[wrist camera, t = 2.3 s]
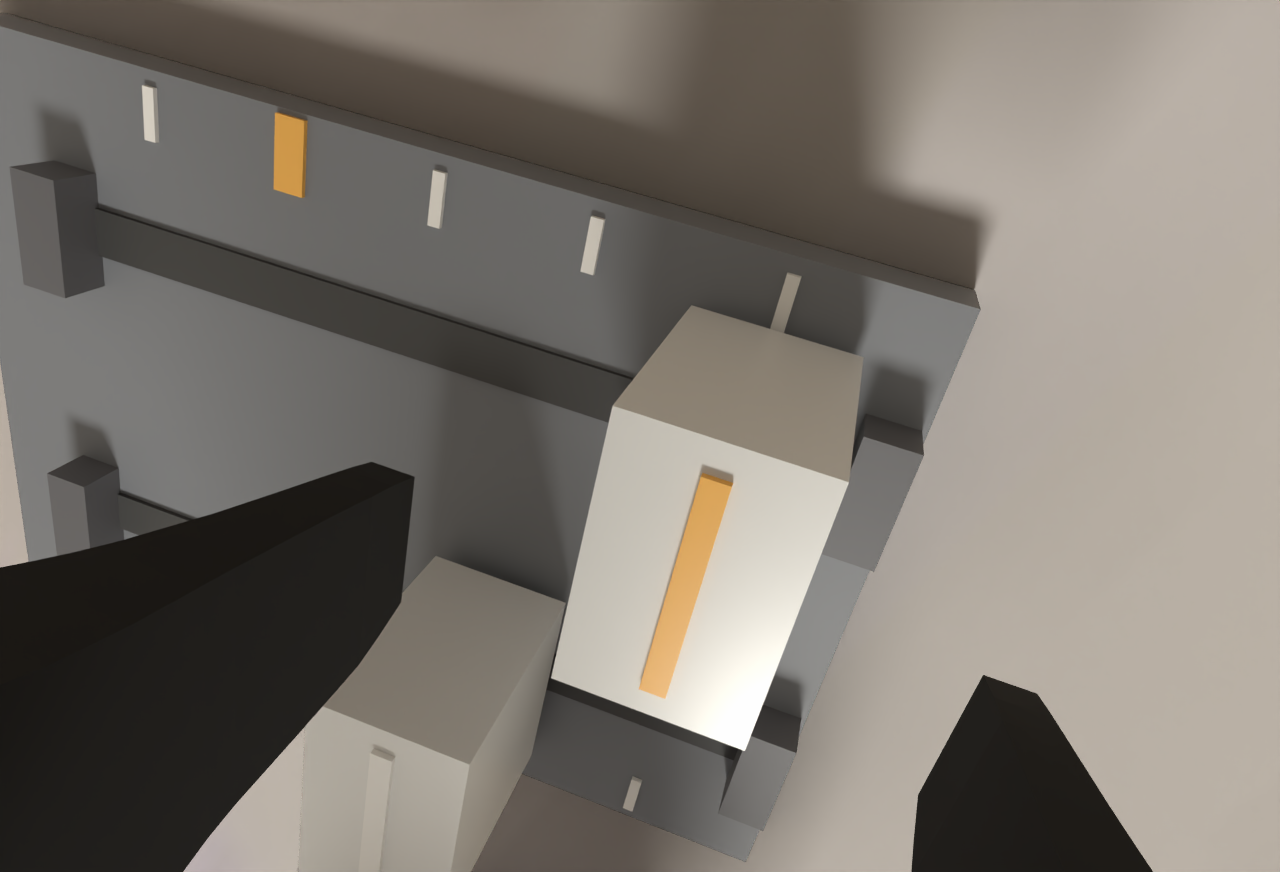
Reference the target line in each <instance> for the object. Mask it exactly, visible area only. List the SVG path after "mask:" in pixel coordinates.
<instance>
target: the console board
mask: <svg viewBox="0 0 1280 872" xmlns="http://www.w3.org/2000/svg"><path fill="white" fill-rule="evenodd" d="M691 305H693V306H696V307H699V308H702V309H706V310H709V311H712V312H716V313H719V314H722V315H726V316H729V317H732V318H736V319H739V320H742V321H745V322H749V323H752V324H755V325H759V326H762V327H765V328H769V329H772V330H775V331H778V332H782V333H785V334H788V335H792V336H795V337H798V338H802V339H805V340H808V341H812V342H815V343H818V344H821V345H825V346H828V347H831V348H835V349H838V350H841V351H845V352H848V353H851V354H855V355H858V356H861V357H864V358H863V367H862V375H861V384H860V392H859V401H858V410H857V418H856V427H855V435H854V444H853V453H852V461H851V470H850V479H849V484H848V486H847V489H846V492H845V494H844V497H843V499H842V502H841V504H840V507H839V510H838V512H837V515H836V517H835V520H834V522H833V525H832V528H831V530H830V533H829V535H828V538H827V540H826V543H825V546H824V548H823V551H822V553H821V556H820V559H819V561H818V564H817V566H816V569H815V571H814V574H813V577H812V579H811V582H810V584H809V587H808V589H807V592H806V595H805V597H804V600H803V602H802V605H801V607H800V610H799V613H798V615H797V618H796V620H795V623H794V626H793V628H792V631H791V633H790V636H789V638H788V641H787V644H786V646H785V649H784V651H783V654H782V656H781V659H780V662H779V664H778V667H777V669H776V672H775V675H774V677H773V680H772V682H771V685H770V687H769V690H768V693H767V695H766V698H765V700H764V703H763V705H762V708H761V711H760V713H759V716H758V718H757V721H756V723H755V726H754V729H753V731H752V734H751V736H750V739H749V742H748V744H747V747H746V749H745V751H744V750H741V749H738V748H736V747H733V746H730V745H728V744H725V743H722V742H720V741H717V740H714V739H712V738H709V737H706V736H704V735H701V734H698V733H696V732H693V731H690V730H688V729H685V728H682V727H680V726H677V725H674V724H672V723H669V722H666V721H664V720H661V719H658V718H656V717H653V716H651V715H648V714H645V713H643V712H640V711H637V710H635V709H632V708H629V707H627V706H624V705H621V704H619V703H616V702H613V701H611V700H608V699H605V698H603V697H600V696H597V695H595V694H592V693H589V692H587V691H584V690H581V689H579V688H576V687H573V686H571V685H568V684H565V683H563V682H560V681H557V680H555V679H552V678H551V676H552V671H553V667H554V663H555V658H556V654H557V649H558V645H559V640H560V636H561V632H562V627H563V623H564V618H565V614H566V610H567V605H568V601H569V596H570V592H571V587H572V583H573V579H574V574H575V570H576V565H577V561H578V557H579V552H580V548H581V543H582V539H583V534H584V530H585V526H586V521H587V517H588V512H589V508H590V503H591V499H592V495H593V490H594V486H595V481H596V477H597V473H598V468H599V464H600V459H601V455H602V450H603V446H604V442H605V437H606V433H607V428H608V424H609V419H610V415H611V411H612V406H613V405H614V403H615V402H616V401H617V399H618V398H619V397H620V396H621V394H622V393H623V392H624V391H625V389H626V388H627V387H628V385H629V384H630V383H631V382H632V380H633V379H634V378H635V377H636V375H637V374H638V373H639V371H640V370H641V369H642V368H643V366H644V365H645V364H646V363H647V361H648V360H649V359H650V357H651V356H652V355H653V354H654V352H655V351H656V350H657V348H658V347H659V346H660V345H661V343H662V342H663V341H664V340H665V338H666V337H667V336H668V334H669V333H670V332H671V331H672V329H673V328H674V327H675V326H676V324H677V323H678V322H679V320H680V319H681V318H682V317H683V315H684V314H685V313H686V312H687V310H688V309H689V308H690V306H691ZM980 310H981V309H980V306H979V302H978V299H977V295H976V292H975V290H972V289H969V288H965V287H962V286H958V285H955V284H951V283H948V282H944V281H941V280H937V279H934V278H930V277H927V276H923V275H920V274H916V273H913V272H909V271H906V270H902V269H899V268H895V267H892V266H888V265H885V264H881V263H878V262H874V261H871V260H867V259H864V258H860V257H857V256H853V255H850V254H846V253H843V252H839V251H836V250H832V249H829V248H825V247H822V246H818V245H815V244H811V243H808V242H804V241H801V240H797V239H794V238H790V237H787V236H783V235H780V234H776V233H773V232H769V231H766V230H762V229H759V228H755V227H752V226H748V225H745V224H741V223H738V222H734V221H731V220H727V219H724V218H720V217H717V216H713V215H710V214H706V213H703V212H699V211H696V210H692V209H689V208H686V207H682V206H679V205H675V204H672V203H668V202H665V201H661V200H658V199H654V198H651V197H647V196H644V195H640V194H637V193H633V192H630V191H626V190H623V189H619V188H616V187H612V186H609V185H605V184H602V183H598V182H595V181H591V180H588V179H584V178H581V177H577V176H574V175H570V174H567V173H563V172H560V171H556V170H553V169H549V168H546V167H542V166H539V165H535V164H532V163H528V162H525V161H521V160H518V159H514V158H511V157H507V156H504V155H500V154H497V153H493V152H490V151H486V150H483V149H479V148H476V147H472V146H469V145H465V144H462V143H458V142H455V141H451V140H448V139H444V138H441V137H437V136H434V135H430V134H427V133H423V132H420V131H416V130H413V129H409V128H406V127H402V126H399V125H395V124H392V123H388V122H385V121H381V120H378V119H374V118H371V117H367V116H364V115H360V114H357V113H353V112H350V111H346V110H343V109H339V108H336V107H332V106H329V105H325V104H322V103H318V102H315V101H311V100H308V99H304V98H301V97H297V96H294V95H290V94H287V93H283V92H280V91H276V90H273V89H269V88H266V87H262V86H259V85H255V84H252V83H248V82H245V81H241V80H238V79H234V78H231V77H227V76H224V75H220V74H217V73H213V72H210V71H206V70H203V69H199V68H196V67H192V66H189V65H185V64H182V63H178V62H175V61H171V60H168V59H164V58H161V57H157V56H154V55H150V54H147V53H143V52H140V51H136V50H133V49H129V48H126V47H122V46H119V45H115V44H112V43H108V42H105V41H101V40H98V39H94V38H91V37H87V36H84V35H80V34H77V33H73V32H70V31H66V30H63V29H59V28H56V27H52V26H49V25H45V24H42V23H38V22H35V21H31V20H28V19H24V18H21V17H17V16H14V15H10V14H6V13H0V363H1V370H2V377H3V384H4V391H5V398H6V405H7V412H8V419H9V426H10V433H11V440H12V447H13V455H14V462H15V469H16V476H17V483H18V490H19V497H20V504H21V511H22V518H23V525H24V532H25V539H26V546H27V553H28V560H29V562H31V561H35V560H40V559H44V558H49V557H54V556H58V555H63V554H68V553H72V552H77V551H81V550H85V549H89V548H93V547H97V546H101V545H105V544H109V543H113V542H117V541H121V540H125V539H128V538H132V537H135V536H138V535H142V534H145V533H149V532H152V531H155V530H159V529H162V528H166V527H169V526H172V525H176V524H179V523H183V522H186V521H190V520H193V519H196V518H200V517H203V516H207V515H210V514H213V513H216V512H220V511H223V510H226V509H229V508H232V507H235V506H238V505H241V504H244V503H247V502H250V501H253V500H256V499H259V498H262V497H265V496H268V495H271V494H274V493H277V492H280V491H283V490H285V489H288V488H291V487H294V486H297V485H300V484H303V483H306V482H309V481H312V480H315V479H318V478H320V477H323V476H326V475H329V474H332V473H335V472H339V471H342V470H345V469H348V468H351V467H354V466H358V465H362V464H365V463H369V462H374V463H377V464H380V465H383V466H386V467H388V468H391V469H394V470H397V471H400V472H403V473H406V474H409V475H411V476H414V477H415V480H414V489H413V498H412V508H411V517H410V526H409V535H408V544H407V554H406V563H405V572H404V581H403V591H402V593H403V592H404V591H405V589H406V588H407V587H408V586H409V585H410V584H411V583H412V582H413V581H414V579H415V578H416V577H417V576H418V575H419V574H420V573H421V572H422V571H423V569H424V568H425V567H426V566H427V565H428V564H429V563H430V562H431V561H432V559H433V558H434V557H435V556H437V557H440V558H443V559H446V560H449V561H451V562H454V563H457V564H460V565H462V566H465V567H468V568H471V569H473V570H476V571H479V572H482V573H484V574H487V575H490V576H493V577H496V578H498V579H501V580H504V581H507V582H509V583H512V584H515V585H518V586H520V587H523V588H526V589H529V590H531V591H534V592H537V593H540V594H542V595H545V596H548V597H551V598H554V599H556V600H559V601H562V602H565V603H566V604H565V608H564V613H563V617H562V622H561V626H560V631H559V635H558V639H557V644H556V648H555V653H554V657H553V662H552V666H551V671H550V675H549V679H548V684H547V688H546V693H545V697H544V702H543V706H542V711H541V715H540V720H539V724H538V728H537V733H536V737H535V742H534V746H533V751H532V755H531V757H530V759H529V761H528V763H527V765H526V767H525V769H524V771H523V772H522V774H524V775H526V776H529V777H532V778H534V779H537V780H539V781H542V782H544V783H547V784H549V785H552V786H554V787H557V788H559V789H562V790H564V791H567V792H569V793H572V794H575V795H577V796H580V797H582V798H585V799H587V800H590V801H592V802H595V803H597V804H600V805H602V806H605V807H607V808H610V809H612V810H615V811H618V812H620V813H623V814H625V815H628V816H630V817H633V818H635V819H638V820H640V821H643V822H645V823H648V824H650V825H653V826H656V827H658V828H661V829H663V830H666V831H668V832H671V833H673V834H676V835H678V836H681V837H683V838H686V839H688V840H691V841H693V842H696V843H699V844H701V845H704V846H706V847H709V848H711V849H714V850H716V851H719V852H721V853H724V854H726V855H729V856H731V857H734V858H736V859H739V860H742V861H744V862H746V860H747V858H748V856H749V853H750V851H751V848H752V846H753V844H754V841H755V839H756V837H757V834H758V832H759V830H761V831H763V830H764V827H765V825H766V823H767V820H768V818H769V816H770V813H771V811H772V809H773V806H774V804H775V802H776V799H777V797H778V795H779V792H780V790H781V788H782V785H783V783H784V781H785V778H786V776H787V774H788V771H789V769H790V767H791V764H792V762H793V760H794V757H795V755H796V752H797V745H798V738H799V735H800V733H801V731H802V728H803V726H804V724H805V721H806V719H807V717H808V714H809V712H810V710H811V707H812V705H813V703H814V700H815V698H816V695H817V693H818V691H819V688H820V686H821V684H822V681H823V679H824V677H825V674H826V672H827V670H828V667H829V665H830V663H831V660H832V658H833V655H834V653H835V651H836V648H837V646H838V644H839V641H840V639H841V637H842V634H843V632H844V630H845V627H846V625H847V623H848V620H849V618H850V615H851V613H852V611H853V608H854V606H855V604H856V601H857V599H858V597H859V594H860V592H861V590H862V587H863V585H864V583H865V580H866V578H867V575H868V573H869V571H873V572H874V571H875V568H876V566H877V564H878V561H879V559H880V556H881V554H882V552H883V549H884V547H885V545H886V542H887V540H888V538H889V535H890V533H891V531H892V528H893V526H894V524H895V521H896V519H897V517H898V514H899V512H900V510H901V507H902V505H903V503H904V500H905V498H906V496H907V493H908V491H909V489H910V486H911V484H912V482H913V479H914V477H915V475H916V472H917V470H918V468H919V465H920V463H921V461H922V458H923V456H924V451H923V444H924V441H925V439H926V437H927V434H928V432H929V430H930V427H931V425H932V422H933V420H934V418H935V415H936V413H937V411H938V408H939V406H940V404H941V401H942V399H943V397H944V394H945V392H946V390H947V387H948V385H949V382H950V380H951V378H952V375H953V373H954V371H955V368H956V366H957V364H958V361H959V359H960V357H961V354H962V352H963V350H964V347H965V345H966V342H967V340H968V338H969V335H970V333H971V331H972V328H973V326H974V324H975V321H976V319H977V317H978V314H979V312H980Z"/></svg>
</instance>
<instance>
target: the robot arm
mask: <svg viewBox="0 0 1280 872" xmlns="http://www.w3.org/2000/svg"><path fill="white" fill-rule="evenodd" d="M414 480H415V477H414V476H411V475H409V474H406V473H403V472H400V471H397V470H394V469H391V468H388V467H386V466H383V465H380V464H377V463H374V462H369V463H365V464H362V465H358V466H354V467H351V468H348V469H345V470H342V471H339V472H335V473H332V474H329V475H326V476H323V477H320V478H318V479H315V480H312V481H309V482H306V483H303V484H300V485H297V486H294V487H291V488H288V489H285V490H283V491H280V492H277V493H274V494H271V495H268V496H265V497H262V498H259V499H256V500H253V501H250V502H247V503H244V504H241V505H238V506H235V507H232V508H229V509H226V510H223V511H220V512H216V513H213V514H210V515H207V516H203V517H200V518H196V519H193V520H190V521H186V522H183V523H179V524H176V525H172V526H169V527H166V528H162V529H159V530H155V531H152V532H149V533H145V534H142V535H138V536H135V537H132V538H128V539H125V540H121V541H117V542H113V543H109V544H105V545H101V546H97V547H93V548H89V549H85V550H81V551H77V552H72V553H68V554H63V555H58V556H54V557H49V558H44V559H40V560H35V561H31V562H26V563H21V564H17V565H11V566H6V567H1V568H0V872H183V871H184V870H185V868H186V867H187V866H188V864H189V863H190V862H191V860H192V859H193V857H194V856H195V855H196V853H197V852H198V851H199V849H200V848H201V847H202V845H203V844H204V842H205V841H206V840H207V838H208V837H209V836H210V835H211V833H212V832H213V831H214V830H215V829H216V827H217V826H218V825H219V824H220V822H221V821H222V820H223V819H224V818H225V816H226V815H227V814H228V813H229V812H230V810H231V809H232V808H233V807H234V805H235V804H236V803H237V802H238V801H239V800H240V799H241V797H242V796H243V795H244V794H245V793H246V792H247V791H248V790H249V788H250V787H251V786H252V785H253V784H254V783H255V782H256V781H257V780H258V778H259V777H260V776H261V775H262V774H263V773H264V772H265V771H266V769H267V768H268V767H269V766H270V765H271V764H272V763H273V762H274V761H275V759H276V758H277V757H278V756H279V755H280V754H281V753H282V752H283V750H284V749H285V748H286V747H287V746H288V745H289V744H290V743H291V741H292V740H293V739H294V738H295V737H296V736H297V735H298V734H299V733H300V731H301V730H302V729H303V728H304V727H305V726H306V725H307V724H308V722H309V721H310V720H311V719H312V718H313V717H314V716H315V715H316V714H317V712H318V711H319V710H320V709H321V708H322V707H323V706H324V704H325V703H326V702H327V701H328V700H329V699H330V698H331V696H332V695H333V694H334V693H335V692H336V691H337V690H338V689H339V687H340V686H341V685H342V684H343V683H344V682H345V681H346V679H347V678H348V677H349V676H350V675H351V674H352V672H353V671H354V670H355V669H356V668H357V667H358V665H359V664H360V663H361V661H362V660H363V658H364V657H365V655H366V654H367V653H368V651H369V650H370V648H371V647H372V645H373V644H374V643H375V641H376V640H377V638H378V637H379V635H380V634H381V632H382V631H383V629H384V628H385V626H386V625H387V623H388V622H389V620H390V619H391V617H392V616H393V614H394V612H395V611H396V609H397V608H398V606H399V605H400V603H401V600H402V591H403V581H404V572H405V563H406V554H407V544H408V535H409V526H410V517H411V508H412V498H413V489H414ZM912 872H1153V871H1152V869H1151V868H1150V867H1149V865H1148V864H1147V862H1146V861H1145V859H1144V858H1143V856H1142V855H1141V853H1140V852H1139V850H1138V849H1137V847H1136V846H1135V844H1134V843H1133V841H1132V840H1131V838H1130V837H1129V835H1128V834H1127V832H1126V831H1125V829H1124V828H1123V826H1122V825H1121V823H1120V822H1119V820H1118V819H1117V817H1116V815H1115V814H1114V812H1113V811H1112V809H1111V808H1110V806H1109V805H1108V803H1107V802H1106V800H1105V798H1104V797H1103V795H1102V794H1101V792H1100V791H1099V789H1098V787H1097V786H1096V784H1095V783H1094V781H1093V780H1092V778H1091V776H1090V775H1089V773H1088V772H1087V770H1086V769H1085V767H1084V765H1083V764H1082V762H1081V761H1080V759H1079V757H1078V756H1077V754H1076V753H1075V751H1074V750H1073V748H1072V746H1071V745H1070V743H1069V742H1068V740H1067V738H1066V737H1065V735H1064V734H1063V732H1062V731H1061V729H1060V727H1059V726H1058V724H1057V723H1056V721H1055V720H1054V718H1053V717H1052V715H1051V714H1050V712H1049V710H1048V709H1047V707H1046V706H1045V705H1044V703H1043V702H1042V700H1041V699H1040V697H1039V696H1038V694H1036V693H1033V692H1030V691H1028V690H1025V689H1022V688H1019V687H1016V686H1013V685H1010V684H1008V683H1005V682H1002V681H999V680H996V679H993V678H990V677H987V676H985V675H983V676H982V678H981V680H980V682H979V684H978V686H977V688H976V689H975V691H974V693H973V695H972V697H971V699H970V700H969V702H968V704H967V706H966V708H965V710H964V712H963V713H962V715H961V717H960V719H959V721H958V723H957V724H956V726H955V728H954V730H953V732H952V734H951V735H950V737H949V739H948V741H947V743H946V745H945V747H944V748H943V750H942V752H941V754H940V756H939V758H938V759H937V761H936V763H935V765H934V767H933V769H932V771H931V772H930V774H929V776H928V778H927V780H926V782H925V783H924V785H923V787H922V789H921V791H920V793H919V794H918V803H917V813H916V824H915V834H914V845H913V859H912Z"/></svg>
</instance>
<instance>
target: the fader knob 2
mask: <svg viewBox="0 0 1280 872" xmlns="http://www.w3.org/2000/svg"><path fill="white" fill-rule="evenodd" d="M863 358H864V357H861V356H858V355H855V354H851V353H848V352H845V351H841V350H838V349H835V348H831V347H828V346H825V345H821V344H818V343H815V342H812V341H808V340H805V339H802V338H798V337H795V336H792V335H788V334H785V333H782V332H778V331H775V330H772V329H769V328H765V327H762V326H759V325H755V324H752V323H749V322H745V321H742V320H739V319H736V318H732V317H729V316H726V315H722V314H719V313H716V312H712V311H709V310H706V309H702V308H699V307H696V306H693V305H691V306H690V308H689V309H688V310H687V312H686V313H685V314H684V315H683V317H682V318H681V319H680V320H679V322H678V323H677V324H676V326H675V327H674V328H673V329H672V331H671V332H670V333H669V334H668V336H667V337H666V338H665V340H664V341H663V342H662V343H661V345H660V346H659V347H658V348H657V350H656V351H655V352H654V354H653V355H652V356H651V357H650V359H649V360H648V361H647V363H646V364H645V365H644V366H643V368H642V369H641V370H640V371H639V373H638V374H637V375H636V377H635V378H634V379H633V380H632V382H631V383H630V384H629V385H628V387H627V388H626V389H625V391H624V392H623V393H622V394H621V396H620V397H619V398H618V399H617V401H616V402H615V403H614V405H613V406H612V411H611V415H610V419H609V424H608V428H607V433H606V437H605V442H604V446H603V450H602V455H601V459H600V464H599V468H598V473H597V477H596V481H595V486H594V490H593V495H592V499H591V503H590V508H589V512H588V517H587V521H586V526H585V530H584V534H583V539H582V543H581V548H580V552H579V557H578V561H577V565H576V570H575V574H574V579H573V583H572V587H571V592H570V596H569V601H568V605H567V610H566V614H565V618H564V623H563V627H562V632H561V636H560V640H559V645H558V649H557V654H556V658H555V663H554V667H553V671H552V676H551V678H552V679H555V680H557V681H560V682H563V683H565V684H568V685H571V686H573V687H576V688H579V689H581V690H584V691H587V692H589V693H592V694H595V695H597V696H600V697H603V698H605V699H608V700H611V701H613V702H616V703H619V704H621V705H624V706H627V707H629V708H632V709H635V710H637V711H640V712H643V713H645V714H648V715H651V716H653V717H656V718H658V719H661V720H664V721H666V722H669V723H672V724H674V725H677V726H680V727H682V728H685V729H688V730H690V731H693V732H696V733H698V734H701V735H704V736H706V737H709V738H712V739H714V740H717V741H720V742H722V743H725V744H728V745H730V746H733V747H736V748H738V749H741V750H744V751H745V749H746V747H747V744H748V742H749V739H750V736H751V734H752V731H753V729H754V726H755V723H756V721H757V718H758V716H759V713H760V711H761V708H762V705H763V703H764V700H765V698H766V695H767V693H768V690H769V687H770V685H771V682H772V680H773V677H774V675H775V672H776V669H777V667H778V664H779V662H780V659H781V656H782V654H783V651H784V649H785V646H786V644H787V641H788V638H789V636H790V633H791V631H792V628H793V626H794V623H795V620H796V618H797V615H798V613H799V610H800V607H801V605H802V602H803V600H804V597H805V595H806V592H807V589H808V587H809V584H810V582H811V579H812V577H813V574H814V571H815V569H816V566H817V564H818V561H819V559H820V556H821V553H822V551H823V548H824V546H825V543H826V540H827V538H828V535H829V533H830V530H831V528H832V525H833V522H834V520H835V517H836V515H837V512H838V510H839V507H840V504H841V502H842V499H843V497H844V494H845V492H846V489H847V486H848V484H849V479H850V470H851V461H852V453H853V444H854V435H855V427H856V418H857V410H858V401H859V392H860V384H861V375H862V367H863Z"/></svg>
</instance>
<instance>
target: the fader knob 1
mask: <svg viewBox="0 0 1280 872" xmlns="http://www.w3.org/2000/svg"><path fill="white" fill-rule="evenodd" d="M565 604H566V603H565V602H562V601H559V600H556V599H554V598H551V597H548V596H545V595H542V594H540V593H537V592H534V591H531V590H529V589H526V588H523V587H520V586H518V585H515V584H512V583H509V582H507V581H504V580H501V579H498V578H496V577H493V576H490V575H487V574H484V573H482V572H479V571H476V570H473V569H471V568H468V567H465V566H462V565H460V564H457V563H454V562H451V561H449V560H446V559H443V558H440V557H437V556H435V557H434V558H433V559H432V561H431V562H430V563H429V564H428V565H427V566H426V567H425V568H424V569H423V571H422V572H421V573H420V574H419V575H418V576H417V577H416V578H415V579H414V581H413V582H412V583H411V584H410V585H409V586H408V587H407V588H406V589H405V591H404V592H403V593H402V600H401V603H400V605H399V606H398V608H397V609H396V611H395V612H394V614H393V616H392V617H391V619H390V620H389V622H388V623H387V625H386V626H385V628H384V629H383V631H382V632H381V634H380V635H379V637H378V638H377V640H376V641H375V643H374V644H373V645H372V647H371V648H370V650H369V651H368V653H367V654H366V655H365V657H364V658H363V660H362V661H361V663H360V664H359V665H358V667H357V668H356V669H355V670H354V671H353V672H352V674H351V675H350V676H349V677H348V678H347V679H346V681H345V682H344V683H343V684H342V685H341V686H340V687H339V689H338V690H337V691H336V692H335V693H334V694H333V695H332V696H331V698H330V699H329V700H328V701H327V702H326V703H325V704H324V706H323V707H322V708H321V709H320V710H319V711H318V712H317V714H316V715H315V716H314V717H313V718H312V719H311V720H310V721H309V722H308V724H307V725H306V726H305V737H304V757H303V778H302V798H301V819H300V839H299V859H298V872H471V871H472V869H473V868H474V866H475V864H476V862H477V860H478V858H479V856H480V854H481V852H482V850H483V848H484V846H485V844H486V842H487V840H488V838H489V836H490V835H491V833H492V831H493V829H494V827H495V825H496V823H497V821H498V819H499V817H500V815H501V813H502V811H503V809H504V807H505V805H506V804H507V802H508V800H509V798H510V796H511V794H512V792H513V790H514V788H515V786H516V784H517V782H518V780H519V778H520V776H521V774H522V772H523V771H524V769H525V767H526V765H527V763H528V761H529V759H530V757H531V755H532V751H533V746H534V742H535V737H536V733H537V728H538V724H539V720H540V715H541V711H542V706H543V702H544V697H545V693H546V688H547V684H548V679H549V675H550V671H551V666H552V662H553V657H554V653H555V648H556V644H557V639H558V635H559V631H560V626H561V622H562V617H563V613H564V608H565Z"/></svg>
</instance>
